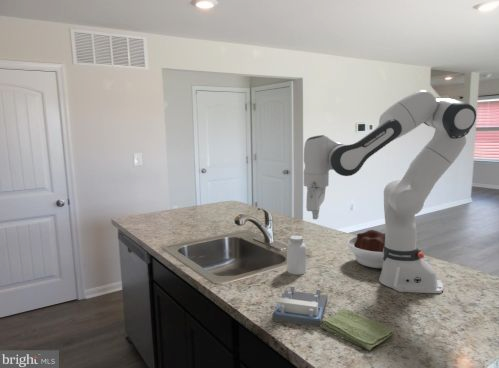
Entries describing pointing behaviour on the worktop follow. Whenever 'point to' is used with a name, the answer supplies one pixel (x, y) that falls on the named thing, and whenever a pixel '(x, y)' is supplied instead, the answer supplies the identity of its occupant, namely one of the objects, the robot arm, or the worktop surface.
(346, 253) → the worktop surface
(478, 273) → the worktop surface
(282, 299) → the bar
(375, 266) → the chocolate pudding dish
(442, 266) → the worktop surface
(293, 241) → the pill bottle
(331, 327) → the washcloth
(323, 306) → the board
